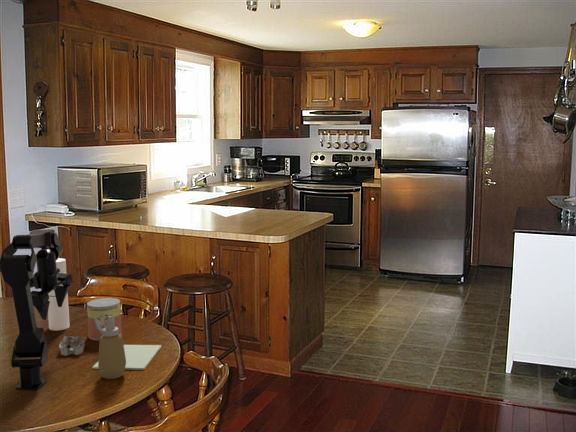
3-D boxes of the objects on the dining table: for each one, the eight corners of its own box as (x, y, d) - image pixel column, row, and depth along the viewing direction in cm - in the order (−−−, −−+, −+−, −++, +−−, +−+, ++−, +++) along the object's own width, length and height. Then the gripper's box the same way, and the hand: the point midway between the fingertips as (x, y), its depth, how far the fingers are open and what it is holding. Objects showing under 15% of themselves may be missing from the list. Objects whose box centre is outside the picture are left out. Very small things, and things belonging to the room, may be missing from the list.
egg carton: (82, 355, 210) (81, 343, 209) (57, 357, 209) (57, 344, 208) (87, 344, 220) (87, 332, 220) (64, 345, 220) (64, 333, 219)
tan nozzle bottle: (96, 373, 194) (93, 315, 192) (124, 368, 198) (121, 311, 195) (101, 383, 187) (97, 322, 184) (129, 378, 190) (126, 318, 188)
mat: (144, 369, 197) (144, 367, 197) (92, 368, 198) (92, 367, 198) (161, 346, 216) (161, 345, 216) (114, 346, 218) (114, 344, 218)
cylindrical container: (48, 331, 234) (43, 263, 230) (49, 325, 241) (45, 259, 237) (69, 329, 236) (65, 261, 232) (70, 323, 243) (66, 257, 239)
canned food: (89, 342, 222) (87, 308, 220) (88, 332, 233) (86, 299, 231) (123, 338, 225) (121, 304, 224) (120, 328, 236) (119, 296, 234)
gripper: (39, 255, 213) (45, 298, 218) (5, 277, 196) (12, 324, 201) (71, 257, 211) (75, 301, 216) (39, 280, 194) (45, 327, 199)
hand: (52, 313), depth 208 cm, fingers open, 9 cm apart
